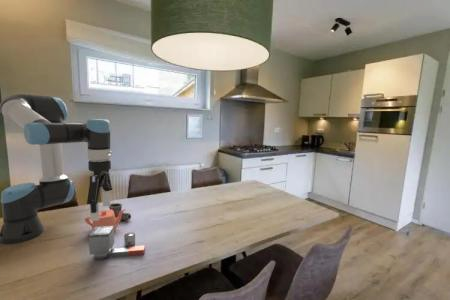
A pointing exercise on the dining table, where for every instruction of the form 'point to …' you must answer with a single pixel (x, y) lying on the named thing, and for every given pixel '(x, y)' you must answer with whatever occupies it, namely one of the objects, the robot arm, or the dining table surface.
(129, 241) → the socket
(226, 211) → the dining table surface
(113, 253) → the ratchet
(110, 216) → the teapot
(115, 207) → the pipe
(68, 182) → the robot arm
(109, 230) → the grey square box
